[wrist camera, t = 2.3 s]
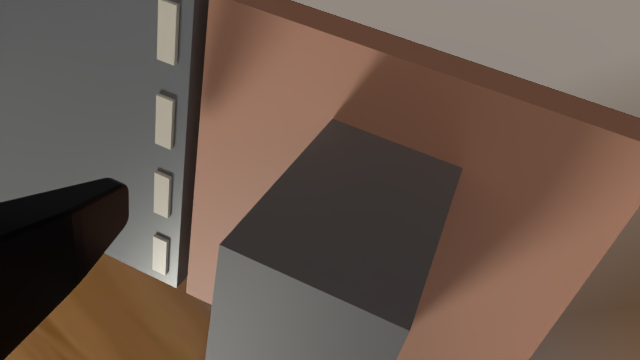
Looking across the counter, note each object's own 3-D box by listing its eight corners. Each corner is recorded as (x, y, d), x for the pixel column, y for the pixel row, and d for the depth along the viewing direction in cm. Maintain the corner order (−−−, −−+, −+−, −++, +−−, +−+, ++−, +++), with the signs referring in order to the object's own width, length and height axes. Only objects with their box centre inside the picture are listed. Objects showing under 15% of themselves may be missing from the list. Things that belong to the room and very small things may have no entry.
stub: (206, 269, 15) (74, 420, 11) (237, -18, 10) (26, 59, 6) (481, 398, 13) (447, 630, 9) (666, 127, 9) (758, 357, 5)
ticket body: (-52, 143, 17) (-92, 162, 16) (-124, -143, 12) (-188, -143, 11) (201, 261, 15) (174, 290, 14) (228, -24, 10) (191, -12, 9)
